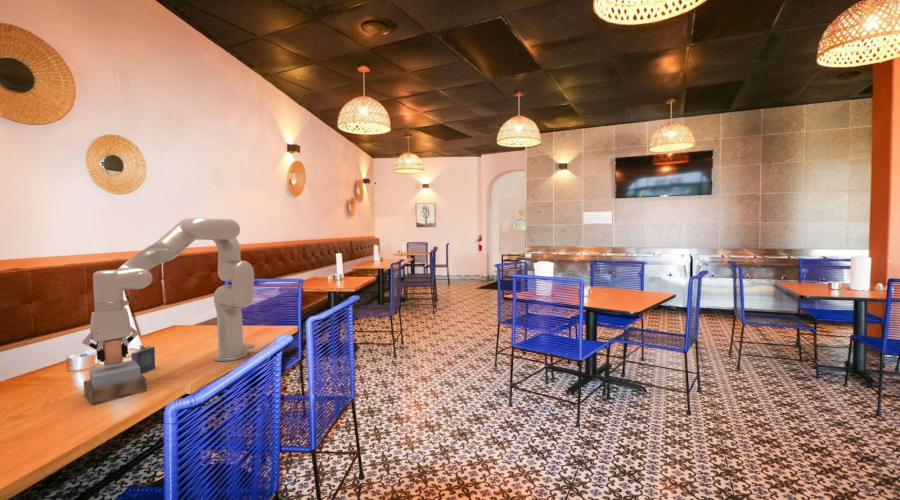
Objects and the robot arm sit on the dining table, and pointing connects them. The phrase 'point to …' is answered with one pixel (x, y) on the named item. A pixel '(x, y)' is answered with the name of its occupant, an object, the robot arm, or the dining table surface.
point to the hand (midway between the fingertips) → (113, 358)
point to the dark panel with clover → (144, 358)
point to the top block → (114, 374)
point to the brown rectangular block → (112, 352)
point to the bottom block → (114, 390)
